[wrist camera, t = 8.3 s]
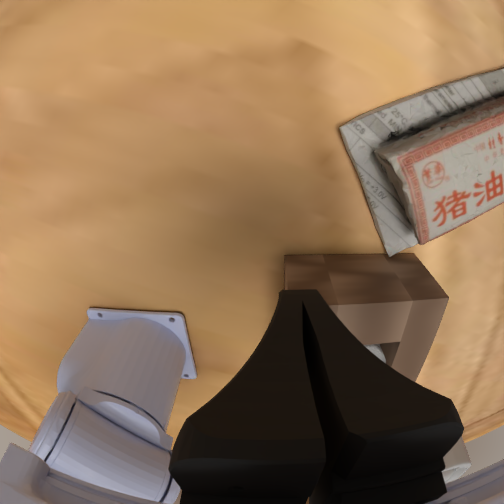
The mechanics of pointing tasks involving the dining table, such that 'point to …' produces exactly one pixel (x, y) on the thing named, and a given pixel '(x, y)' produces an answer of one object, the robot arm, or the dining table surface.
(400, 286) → the walnut block
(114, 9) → the dining table surface
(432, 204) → the packaged product
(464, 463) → the lumpy-topped squat cylinder
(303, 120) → the dining table surface
